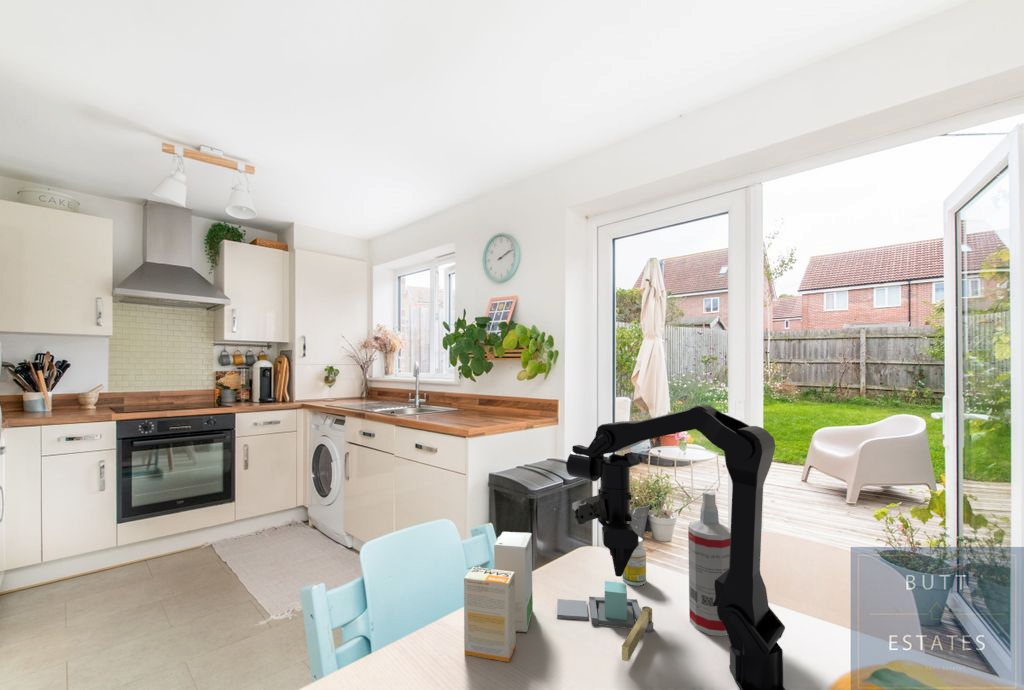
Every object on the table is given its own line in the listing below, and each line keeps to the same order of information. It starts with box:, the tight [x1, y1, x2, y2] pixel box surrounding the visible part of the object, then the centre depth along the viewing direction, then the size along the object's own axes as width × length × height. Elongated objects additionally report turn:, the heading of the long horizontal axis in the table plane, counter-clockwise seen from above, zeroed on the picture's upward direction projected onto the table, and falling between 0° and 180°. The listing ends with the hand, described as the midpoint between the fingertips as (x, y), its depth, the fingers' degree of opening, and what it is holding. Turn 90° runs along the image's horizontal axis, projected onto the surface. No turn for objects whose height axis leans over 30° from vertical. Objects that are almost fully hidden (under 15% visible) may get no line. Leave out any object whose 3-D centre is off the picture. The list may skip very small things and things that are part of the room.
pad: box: [556, 598, 589, 621], centre depth 91 cm, size 6×6×1 cm
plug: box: [597, 580, 635, 630], centre depth 89 cm, size 7×7×6 cm
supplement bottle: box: [621, 536, 647, 587], centre depth 104 cm, size 5×5×10 cm
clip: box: [621, 605, 653, 663], centre depth 79 cm, size 14×2×2 cm, turn 148°
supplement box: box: [463, 566, 517, 663], centre depth 78 cm, size 8×5×13 cm, turn 74°
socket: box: [588, 596, 654, 633], centre depth 89 cm, size 12×9×1 cm
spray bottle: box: [687, 491, 731, 637], centre depth 87 cm, size 8×8×25 cm
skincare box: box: [493, 531, 534, 633], centre depth 88 cm, size 8×7×16 cm
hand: (615, 565), depth 89 cm, fingers open, 9 cm apart
